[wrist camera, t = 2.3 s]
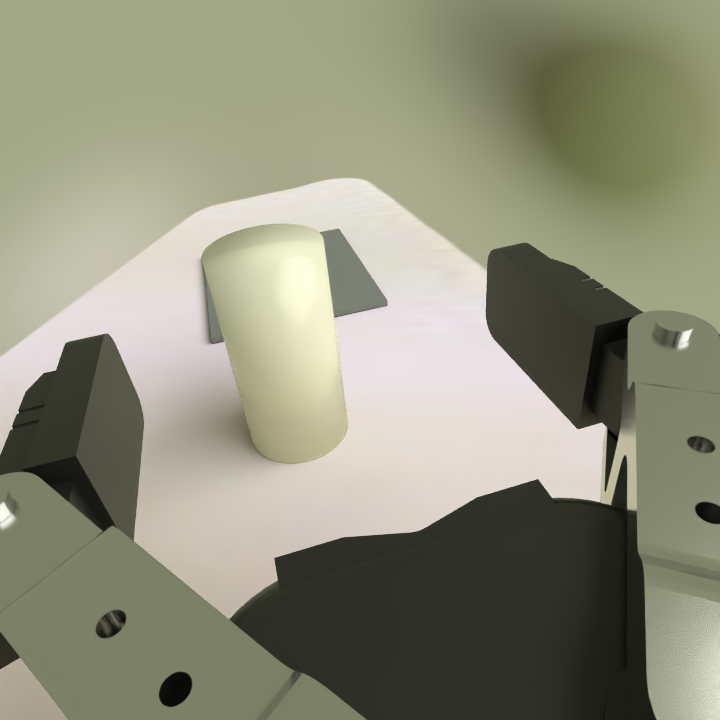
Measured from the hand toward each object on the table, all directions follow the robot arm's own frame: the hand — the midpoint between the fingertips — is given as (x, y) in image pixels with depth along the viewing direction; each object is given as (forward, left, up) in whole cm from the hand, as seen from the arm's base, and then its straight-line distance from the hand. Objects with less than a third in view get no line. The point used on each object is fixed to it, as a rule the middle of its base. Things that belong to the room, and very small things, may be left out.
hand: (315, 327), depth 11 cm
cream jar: (0, +11, -13) cm, 17 cm away
